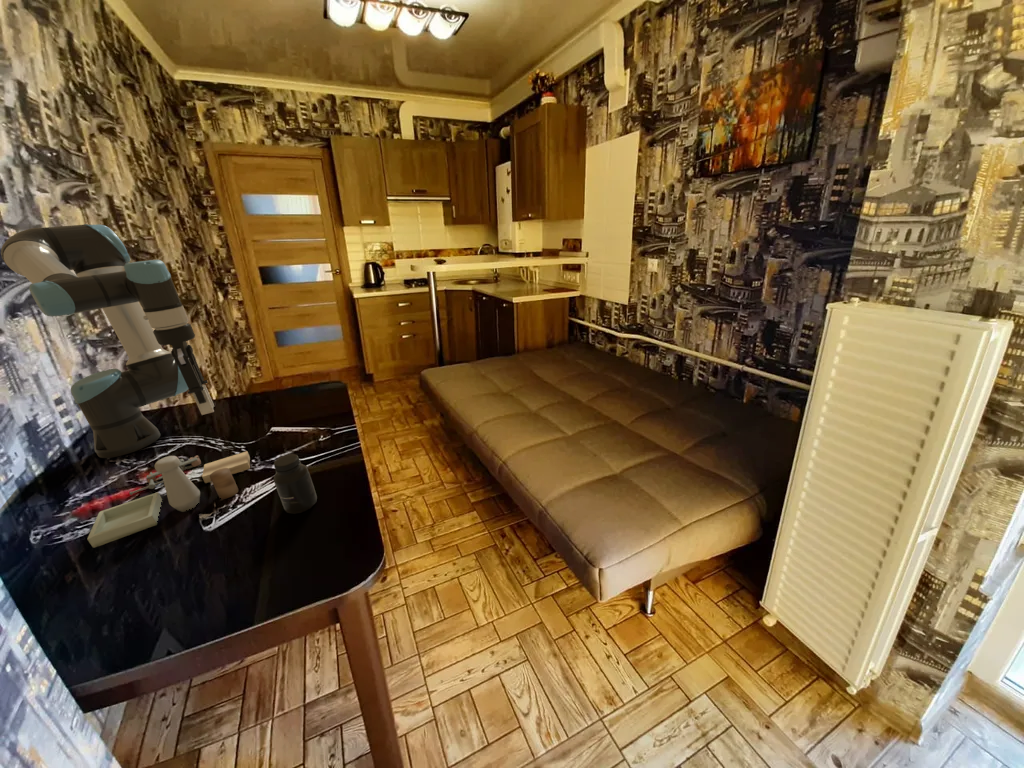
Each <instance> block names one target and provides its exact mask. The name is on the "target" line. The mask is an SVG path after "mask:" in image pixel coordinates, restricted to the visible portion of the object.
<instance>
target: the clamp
mask: <svg viewBox="0 0 1024 768" xmlns="http://www.w3.org/2000/svg"><path fill="white" fill-rule="evenodd" d="M178 459H179V460H180V465H179V468H180V469H181V470H182V471H183V472H184V471H186V469H187V470H188V469H189V470H190V469H192V468H195V467H198V466H200V465H201V464H202V461H201V459H200V456H199V454H198V455H195V456H194V457H193V456H192V457H189V459H188V460H186V461H185V460H184V458H178ZM189 464H191V465H189ZM186 465H188V466H186ZM160 475H161V476H160ZM156 477H157V478H156ZM145 479H146V480H147V482H148V485H147V486H145V487H142V488H140V489H139V488H138V489H136V490H133V491H129V495H130V496H133V494H136V493H138V492H141V491H144V490H147V489H149V490H153V489H156V486H158V485H160V484H164V481H163V477H162V473H159V472H157V471H155V472H152V471H151V472H149V473H148V474H147V475H146V477H145ZM160 480H161V481H160ZM156 481H158V482H156Z"/></svg>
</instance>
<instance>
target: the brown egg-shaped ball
mask: <svg viewBox="0 0 1024 768" xmlns="http://www.w3.org/2000/svg"><path fill="white" fill-rule="evenodd" d="M210 479H211V483H212V485H213V487H214V489H215V491H216V493H217V495H218V498H219V499H220V498H221V499H222V500H224V499H229V498H231V497H233V496H235V495H236V494H238V492H239V488H238V485H237V484H236V480H235V479H234V476H233V474H231V472H230V469H229V468H222V469H219V470H216V471H214V472H213V473H211V474H210Z"/></svg>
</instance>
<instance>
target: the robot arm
mask: <svg viewBox="0 0 1024 768" xmlns="http://www.w3.org/2000/svg"><path fill="white" fill-rule="evenodd" d="M0 255H1V259H2V260H3V263H4V264H5V265H6V266H7V268H9V269H10V270H11V271H13V272H14V273H16V274H19V276H22V277H25V278H26V279H27V280H28V281H29V282H30V283H31V284H30V285H29V288H28V289H29V292H30V294H31V296H32V298H33V300H34V301H35V303H36V305H37V307H38V308H39V309H40V311H41V312H42V313H43V315H45V316H48V317H52V318H53V317H59V316H60V317H61V316H72V315H74V314H79V313H84V312H90V311H94V310H101V309H102V311H103V312H104V314H105V316H106V318H107V320H108V321H109V323H110V326H111V327H112V329H113V331H114V333H115V334H116V336H117V338H118V340H119V342H120V343H121V345H122V348H123V349H124V351H125V352H126V355H127V356H128V360H127V361H126V363H125V366H126V368H127V370H124V371H121V370H120V369H118V368H110V369H109V368H108V369H105V370H101V371H98V372H95V373H91V375H87V376H85V377H83V378H81V379H79V380H78V381H76V382H74V383H73V384H72V385H71V388H70V392H71V395H72V397H73V398H74V402H75V404H77V405H78V407H79V409H80V411H81V412H82V414H83V416H84V418H85V420H86V422H87V424H89V426H90V428H91V431H92V432H93V433H92V435H93V446H94V452H95V453H96V455H97V456H98V457H99V458H100V459H110V458H116V457H117V458H118V457H121V456H124V455H129V454H131V453H134V452H137V451H140V450H142V449H144V448H146V447H148V446H150V445H152V444H153V443H155V442H156V441H158V439H160V438H161V433H160V431H159V428H157V426H155V425H154V424H153V423H152V422H151V421H150V420H149V419H147V418H146V417H145V416H144V415H143V413H142V411H141V409H140V408H141V407H144V406H148V405H150V404H153V403H156V402H159V401H163V400H166V399H168V398H172V397H176V396H177V395H181V394H183V393H185V392H187V394H188V395H191V394H192V395H193V398H194V401H195V403H196V406H197V407H198V410H199V412H200V414H201V416H203V415H207V414H211V413H214V412H215V410H214V407H215V404H214V401H213V400H212V397H211V395H210V392H209V390H208V388H207V385H206V384H208V379H205V377H204V376H203V374H202V372H201V369H200V367H199V364H198V362H197V359H196V356H195V354H194V349H193V347H192V345H191V344H188V342H189V341H191V340H193V339H194V338H196V334H195V332H194V329H193V327H192V325H191V323H189V321H190V319H189V316H188V314H187V312H186V309H185V308H184V305H183V303H182V302H181V299H180V297H179V294H178V292H177V289H176V286H175V283H174V281H173V279H172V275H171V273H170V272H169V270H168V267H167V266H166V264H165V262H164V261H163V260H161V259H149V260H143V261H142V260H141V261H140V260H139V261H133V262H131V257H130V253H128V250H127V248H126V246H125V245H124V242H122V240H121V239H120V238H119V236H118V235H117V234H116V233H115V231H113V230H112V229H111V228H110V227H108V226H106V225H104V224H99V223H98V224H88V223H87V224H86V223H85V224H73V225H64V226H62V225H61V226H49V227H48V226H47V227H32V228H27V229H24V230H21V231H19V232H17V233H14V234H13V235H12V236H10V237H9V238H7V239H6V240H5V241H4V243H2V247H1V249H0ZM73 271H74V272H73ZM162 346H171V347H172V349H171V350H172V351H171V350H170V351H169V350H166V349H164V348H163V347H162Z"/></svg>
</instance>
